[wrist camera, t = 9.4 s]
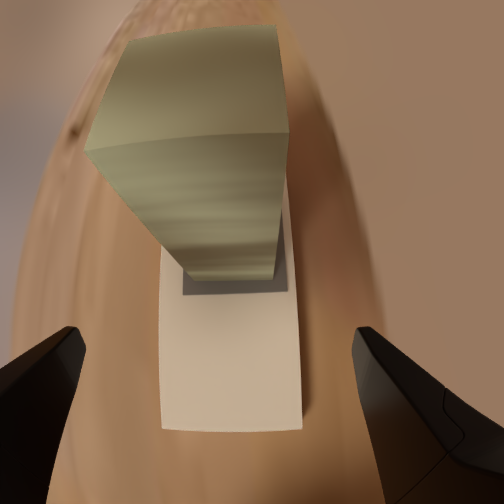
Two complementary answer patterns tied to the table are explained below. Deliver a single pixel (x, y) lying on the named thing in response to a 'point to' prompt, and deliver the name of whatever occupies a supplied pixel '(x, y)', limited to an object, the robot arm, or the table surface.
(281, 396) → the baseplate
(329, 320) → the table surface
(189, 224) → the post
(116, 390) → the table surface
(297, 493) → the table surface
